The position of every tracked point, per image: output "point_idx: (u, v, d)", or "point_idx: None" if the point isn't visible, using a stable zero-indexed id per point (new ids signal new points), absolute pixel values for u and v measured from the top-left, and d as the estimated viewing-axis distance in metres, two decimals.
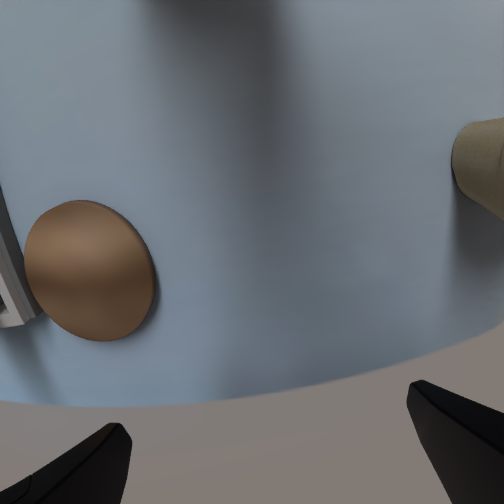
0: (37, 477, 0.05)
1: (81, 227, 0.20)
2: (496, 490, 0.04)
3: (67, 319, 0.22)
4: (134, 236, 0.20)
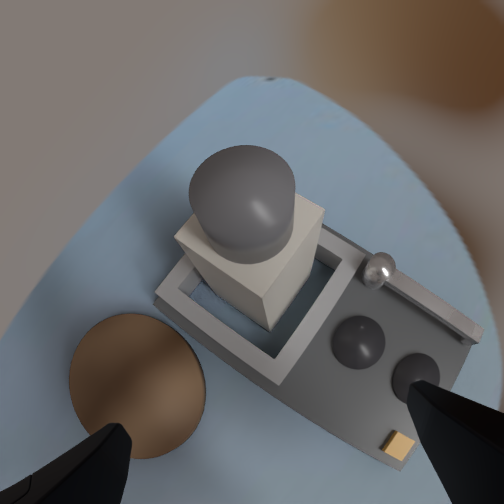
0: (37, 477, 0.05)
1: (152, 435, 0.19)
2: (496, 490, 0.04)
3: (123, 329, 0.22)
4: None
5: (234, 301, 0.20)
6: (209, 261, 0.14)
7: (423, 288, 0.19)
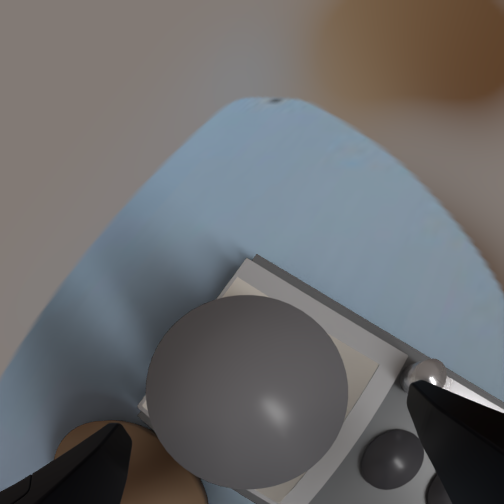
0: (37, 477, 0.05)
1: None
2: (496, 490, 0.04)
3: None
4: None
5: None
6: None
7: (475, 393, 0.13)
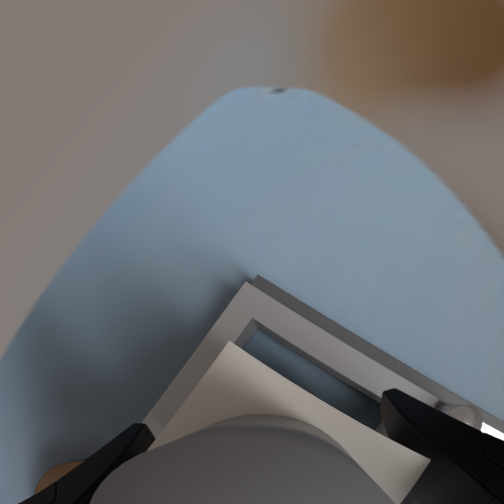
0: (63, 484, 0.05)
1: None
2: None
3: None
4: None
5: None
6: None
7: None
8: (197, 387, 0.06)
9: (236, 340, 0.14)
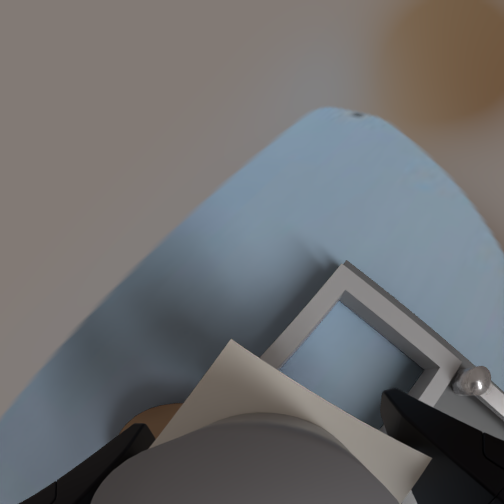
0: (63, 484, 0.05)
1: None
2: None
3: None
4: None
5: None
6: None
7: None
8: (198, 385, 0.06)
9: (332, 304, 0.19)
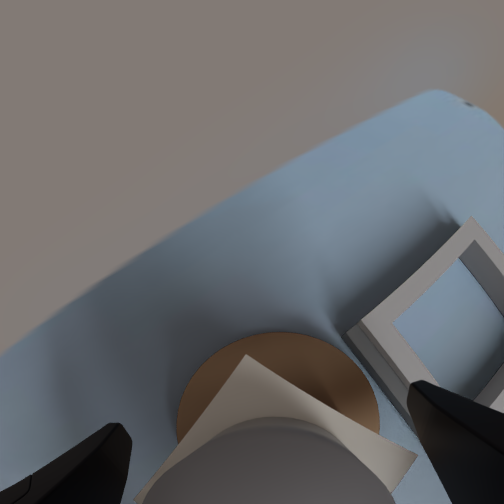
0: (37, 477, 0.05)
1: None
2: (496, 490, 0.04)
3: (291, 354, 0.17)
4: None
5: None
6: None
7: None
8: (218, 394, 0.07)
9: (464, 250, 0.17)
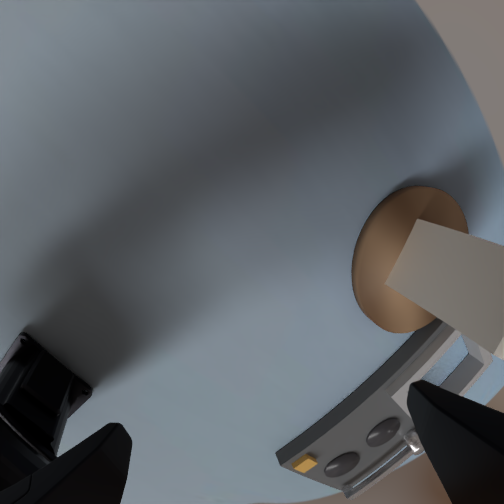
0: (37, 477, 0.05)
1: (380, 285, 0.21)
2: (496, 490, 0.04)
3: None
4: (370, 229, 0.20)
5: (432, 262, 0.17)
6: None
7: (394, 467, 0.25)
8: None
9: (481, 358, 0.25)
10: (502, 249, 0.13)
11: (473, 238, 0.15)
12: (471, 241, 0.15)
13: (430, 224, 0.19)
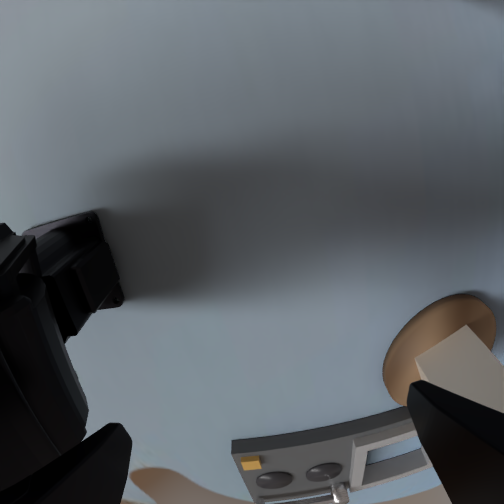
0: (37, 477, 0.05)
1: (411, 357, 0.21)
2: (496, 490, 0.04)
3: None
4: (434, 311, 0.20)
5: (461, 365, 0.18)
6: None
7: None
8: None
9: None
10: None
11: (501, 366, 0.16)
12: (498, 367, 0.16)
13: (474, 335, 0.19)
